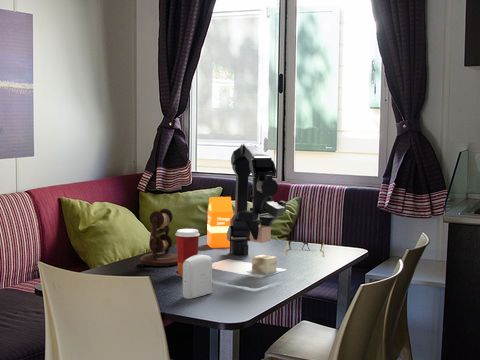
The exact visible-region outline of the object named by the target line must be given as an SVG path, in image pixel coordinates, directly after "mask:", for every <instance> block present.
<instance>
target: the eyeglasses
mask: <svg viewBox="0 0 480 360" xmlns="http://www.w3.org/2000/svg"><path fill="white" fill-rule="evenodd" d="M292 242H300V243H303V246H302V247H301V249H302V250H303V249H304V247H305V245H307V248H308V250H309V251H311V249H310V248H309V243H320V244H321V246H320V249H319V250H320V251H322V258H324V257H325V256H324V252H325V251H324V249H325V244H324V243H325V242H323V241H317V240H316V241H315V240H313V241H302V240H297V239H296V240H287V244H286V249H288V247H289V249H290V250H292V248H291V243H292ZM286 255H287V256H288V252H286Z"/></svg>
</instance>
